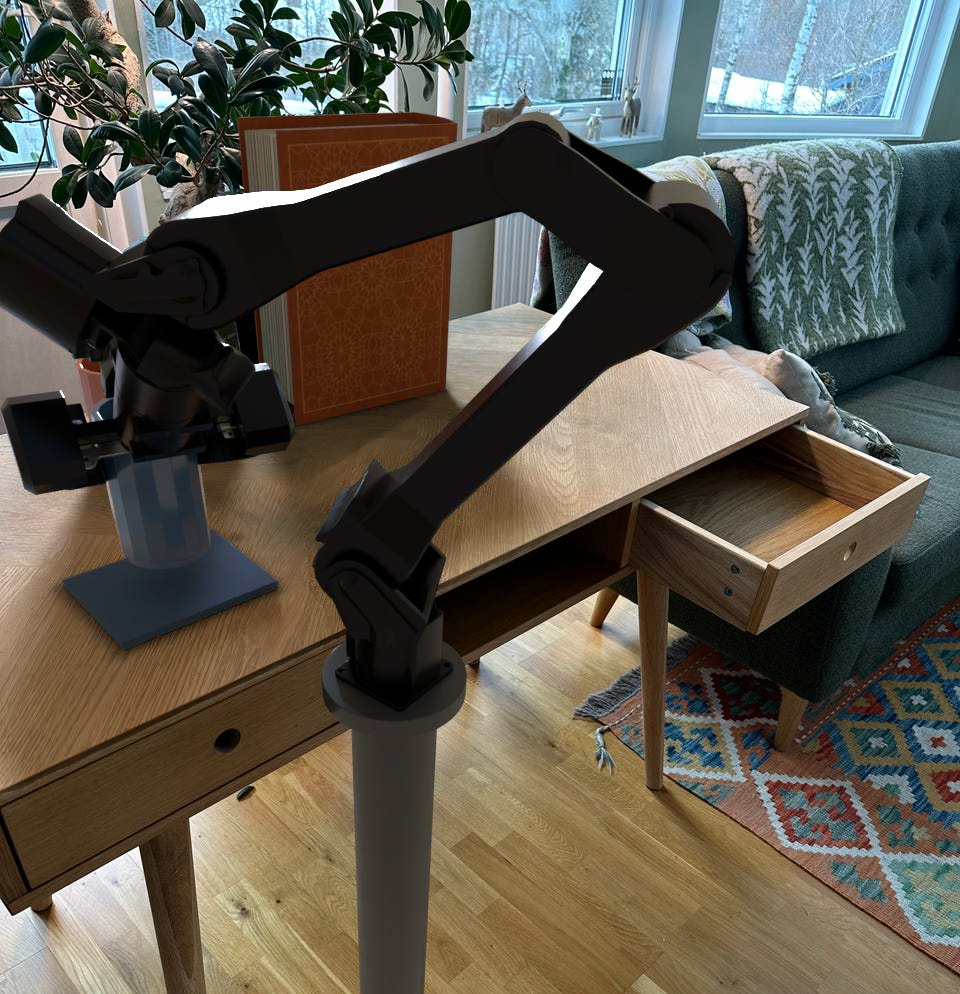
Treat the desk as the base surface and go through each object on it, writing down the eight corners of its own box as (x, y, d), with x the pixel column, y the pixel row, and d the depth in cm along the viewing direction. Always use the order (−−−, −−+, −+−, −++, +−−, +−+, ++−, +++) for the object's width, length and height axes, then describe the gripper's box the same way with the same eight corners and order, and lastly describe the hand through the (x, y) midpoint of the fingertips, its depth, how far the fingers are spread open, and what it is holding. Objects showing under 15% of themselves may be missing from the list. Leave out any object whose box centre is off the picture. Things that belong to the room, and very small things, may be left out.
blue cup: (228, 544, 73) (210, 407, 66) (159, 580, 69) (131, 436, 61) (173, 516, 76) (150, 383, 69) (103, 548, 72) (71, 408, 65)
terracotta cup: (183, 464, 93) (167, 361, 86) (126, 487, 88) (105, 380, 82) (140, 444, 96) (122, 343, 89) (83, 465, 91) (60, 361, 85)
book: (296, 425, 102) (276, 130, 84) (262, 401, 107) (237, 117, 89) (452, 388, 114) (465, 123, 96) (415, 367, 119) (421, 111, 101)
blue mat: (213, 535, 82) (212, 528, 82) (278, 588, 76) (278, 580, 76) (63, 587, 74) (61, 579, 74) (123, 651, 68) (122, 642, 68)
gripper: (268, 250, 60) (234, 356, 74) (-38, 274, 52) (-11, 388, 66) (318, 404, 59) (274, 481, 73) (17, 451, 51) (33, 528, 65)
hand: (149, 466), depth 70 cm, fingers closed on blue cup, 7 cm apart
